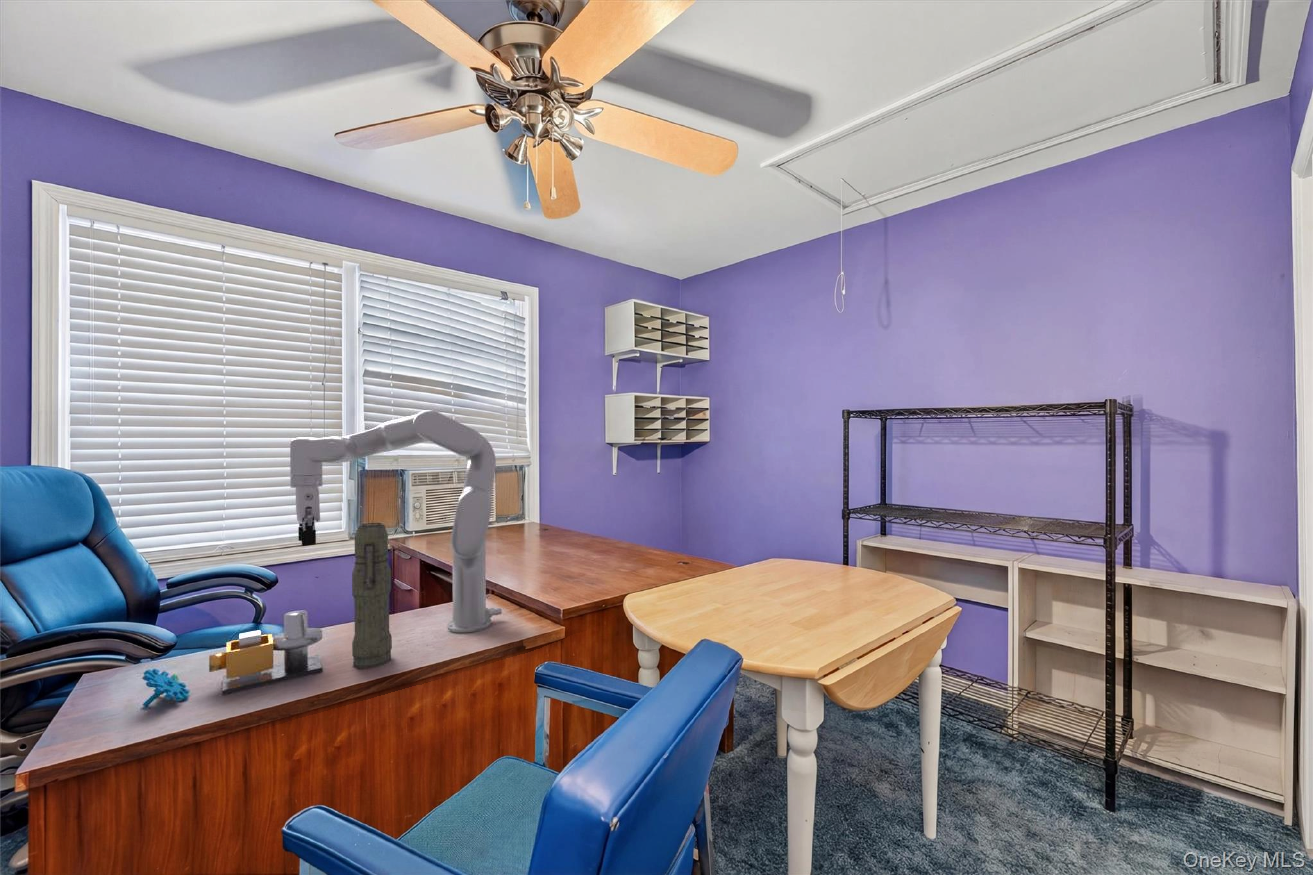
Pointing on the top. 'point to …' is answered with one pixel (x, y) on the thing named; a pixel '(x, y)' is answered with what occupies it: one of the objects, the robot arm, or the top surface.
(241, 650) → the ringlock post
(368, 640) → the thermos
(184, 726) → the top surface
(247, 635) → the tall grey block
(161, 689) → the blue splat shape
